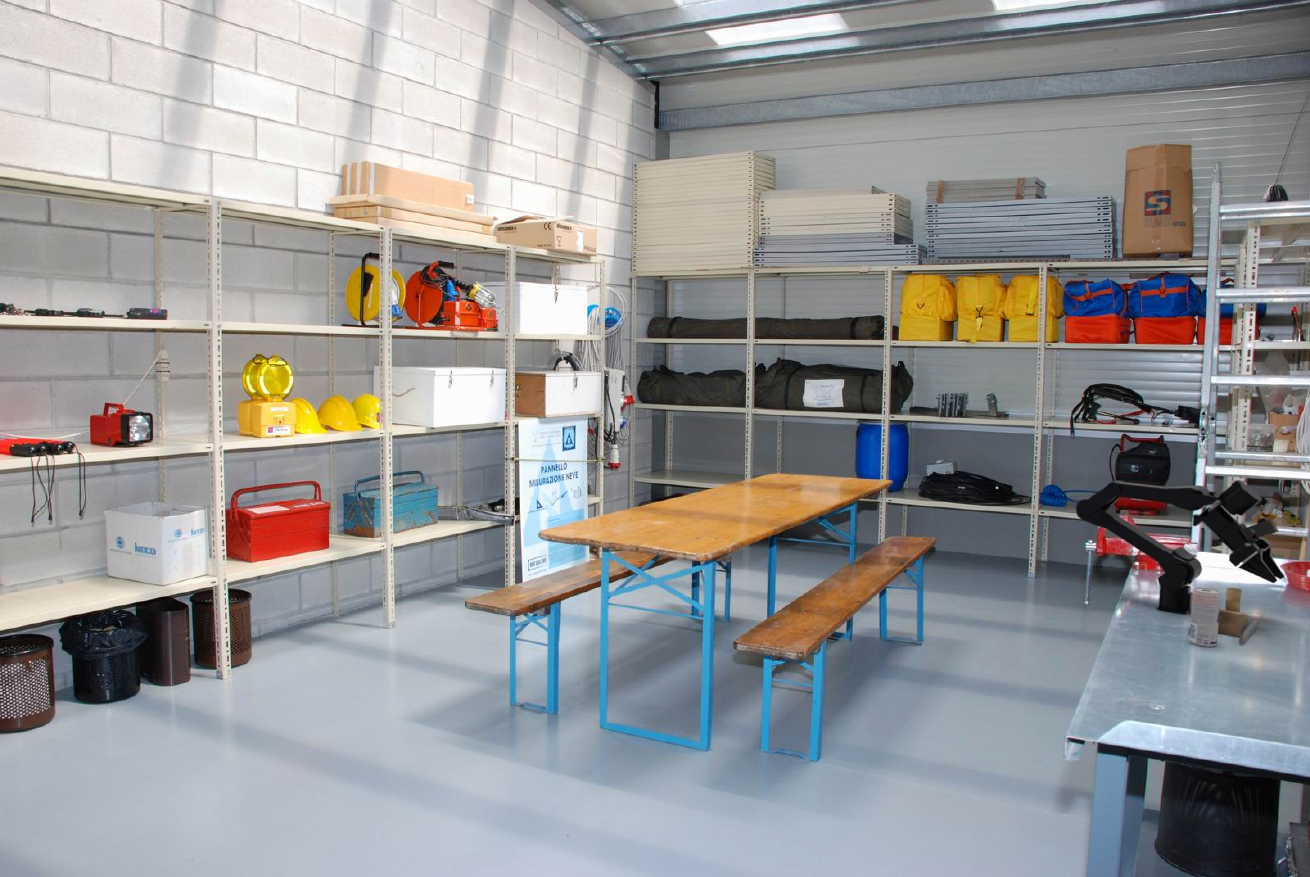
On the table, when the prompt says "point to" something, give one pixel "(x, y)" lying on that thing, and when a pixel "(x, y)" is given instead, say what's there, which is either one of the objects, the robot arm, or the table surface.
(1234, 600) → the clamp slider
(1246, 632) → the clamp rails
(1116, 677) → the table surface
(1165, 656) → the table surface
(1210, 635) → the energy drink
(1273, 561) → the robot arm
